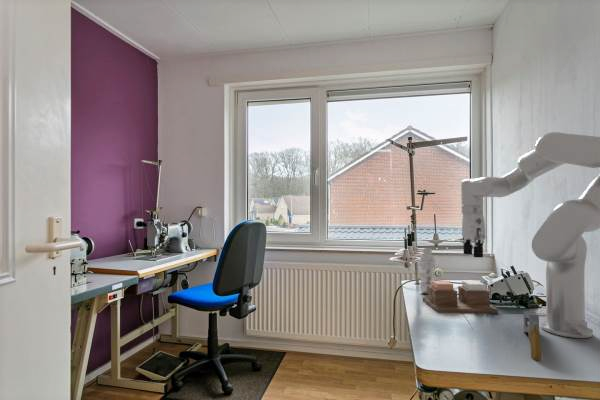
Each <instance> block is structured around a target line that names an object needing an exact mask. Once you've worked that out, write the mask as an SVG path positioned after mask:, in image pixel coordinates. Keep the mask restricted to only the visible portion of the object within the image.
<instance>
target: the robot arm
mask: <svg viewBox="0 0 600 400" xmlns="http://www.w3.org/2000/svg"><path fill="white" fill-rule="evenodd" d="M517 164H518V165H517V167H516V168H515V169H513V170H512V171H511V172H509V173H506V174H505V175H503V176H501V177H497V176H483V177H479V178H478V177H477V178H467V179H463V180H462V181H461V185H460V186H461V194H460V195H461V196H460V197H461V215H462V221H461V225H462V226H461V236H462V237H461V238H462V244H463V245H462V246H463V255H473V257H474V258H483V257H484V248H483V247H484V243H485V240H486V224H485V217H484V198H505V197H507V196H510V195H513V194H514V193H516V192H518V191H521V190H522V189H524V188H525V187H527V186H528V185H530V183H532V182H533V181H534V180H535V179H536V178H538V177H541V176H543V175H545V174H546V173H548V172H550V171H553V170H554V169H556V168H558V167H560V166H562V165H564V164H567V165H574V166H580V167H585V168H591V169H599V170H600V136H596V135H595V136H594V135H586V134H585V135H583V134H575V133H566V132H565V133H564V132H558V131H552V132H548V133H546V134H543V135H542V136H541V137H539V138H538V140H536V142H535V145H534V149H532V150H531V151H528V152H526V153H525V154H523V155H521V156H520V157H519V158H518V160H517ZM599 229H600V173H599V174H598V175H597V176H596V177H595V178H594V179H593V180H592V181H591V182H590V183H589V184H588V185H587V188H586V189H585V190H584V192H582V194H581V195H580V196H579V197H578V198H577V199H570V200H566V201H563V202H561V203H560V204H558V205H556V207H555V208H554V209H553V210H552V211H551V212H550V213H549V215H548V216H547V218H546V219H545V221H544V222H543V223H542V225H541V226H540V227H539V229H538V230H537V232H535V234H534V236H533V237H532V240H531V249H532V253H533V254H534V256H536V257H537V258H538V259H540V260H542V261H544V262H546V269H545V299H546V300H545V301H546V303H545V305H546V311H545V312H546V320H545V321H542V322H540V328H541V329H542V330H544V331H546V332H548V333H551V334H554V335H558V336H560V337H565V338H566V337H567V338H574V339H588V338H589V339H590V338H591V337H592V336H593V332H594V330H593V329H592V328H589V327H588V321H586V306H585V305H586V300H585V299H586V297H585V291H586V290H585V268H586V266H585V265H586V259H587V253H588V251H587V250H588V247H587V242H586V239H585V238H584V237H583V234H585V233H589V232H594V231H595V232H596V231H597V230H599ZM472 241H473V244H474V245H473V244H472Z"/></svg>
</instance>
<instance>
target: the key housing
mask: <svg viewBox="0 0 600 400" xmlns="http://www.w3.org/2000/svg"><path fill="white" fill-rule="evenodd" d="M457 289H458V290H457ZM457 289H455V288H453V290H436V289H434V288H433V287H432V286H428V294H427V296H422V301H423V302H424V303H425V304H426V305H427V306H429V307H430V308H431V309H432V310H433V311H435V313H438V314H439V313H445V314H446V313H449V314H450V313H452V314H453V313H455V314H456V313H459V314H463V313H464V314H465V313H466V314H499V308H497V307H494V305H491V304H490V303H491V296H490V295H491V293H490V290H488V289H486V288H485V291H469V290H467V289H465V288H463V287H462V285H458V286H457Z"/></svg>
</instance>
